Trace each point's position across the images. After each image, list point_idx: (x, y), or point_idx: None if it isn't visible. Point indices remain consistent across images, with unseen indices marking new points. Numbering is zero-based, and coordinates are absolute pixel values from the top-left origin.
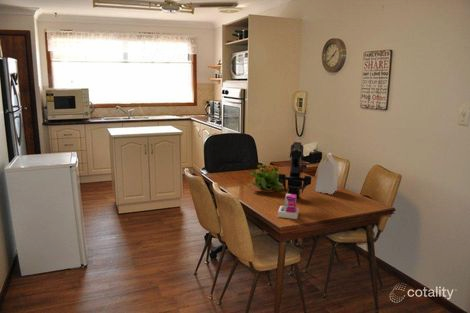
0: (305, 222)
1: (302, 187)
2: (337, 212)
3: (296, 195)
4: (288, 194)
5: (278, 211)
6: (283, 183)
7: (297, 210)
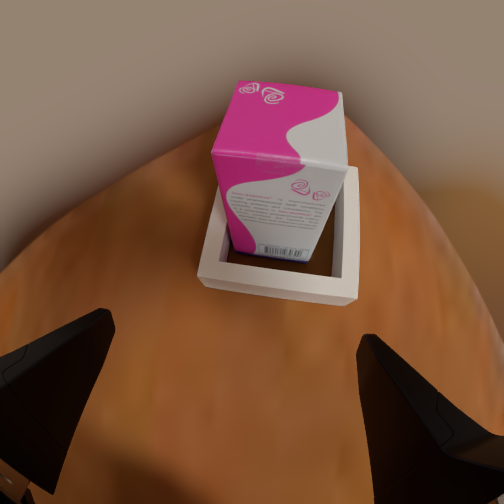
0: (192, 141)
1: (59, 343)
2: (6, 321)
3: (215, 139)
4: (317, 137)
5: (354, 168)
6: (462, 421)
7: (218, 207)
